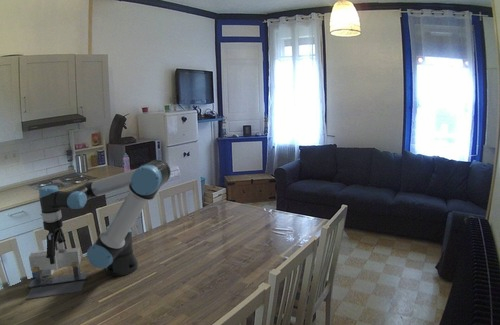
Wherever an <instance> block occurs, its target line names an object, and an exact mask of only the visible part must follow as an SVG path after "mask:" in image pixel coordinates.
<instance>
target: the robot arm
mask: <svg viewBox="0 0 500 325" xmlns="http://www.w3.org/2000/svg"><path fill="white" fill-rule="evenodd" d="M170 177H171V168H170V166H169V164H168V163H167V162H165V161H164V160H162V159H154V160H151V161H149V162H147V163H144V164H141V165H140V166H139V167H138V168H135V169H131V170H128V171H125V172H121V173H118V174H114V175H111V176H110V175H109V176H107V177H104V178H101V179H97V180H94V181H88V182H85V183H83V184H82V185H79V186H78V187H75V188H73V189H71V190H66V191H64V190H63V191H62V190H59V187H58V186H57V185H52V184H51V185H46V186H43V187H42V186H41V187H40V188H39V189H38V199H39V202H40V209H41V210H40V211H41V214H40V216H41V217H42V221H43V222H42V224H43V225H42V226H43V229H44V230H45V231H48V233H47V235H46V250H47V256H46V258H49V263H50V270H54V271H56V270H59V269H58V268H57V260H56V256H55V250H56V248H57V250H62V249H65V242H66V239H65V235H64V232H63V229H62V227H63V226H64V225H63V224H64V223H63V218H62V210H61V209H70V210H71V209H72V210H73V209H74V210H76V209H78V210H79V209H83V208H85V205H86V204H87V202H88V200H91V199H94V198H97V197H100V196H104V195H107V194H111V193H114V192H119V191H122V190H125V189H129V192H128V194H127V195H126V197H125V198H124V200H123V202H122V203H121V205H120V207H119V209H118V211H116V214H115V216H114V217H113V219H112V221H111V222H110V224H109V225H107V227H106V226H105V230H102V231H101V233H99V235H98V237H97V239H96V240H95V242H94V243H93V244H92V245H90V246H89V248H88V249H87V251H86V257H87V259H88V262H89V263H90V264H91V265H92V266H94V267H95V268H99V269H105V271H106V274H107V275H109V276H112V277H121V276H126V275H130V274H132V273H133V272H135V271H137V269H139V262H138V259H137V257H136V255H135V253H134V246H133V234H132V233H133V231H132V227H133V226H134V224H135V222H136V221H137V219H138V218H139V216H140V214H141V212H142V211H143V209H144V207H145V206H146V204H147V203H148V202H149V201H152V200H153V199H154V198H155V196H156V195H157V193H158V192H159V190H160V189H161V188H162V186H163V185H165V184H166V183H167V182H168V181H169V179H170ZM56 246H57V247H56Z"/></svg>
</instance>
